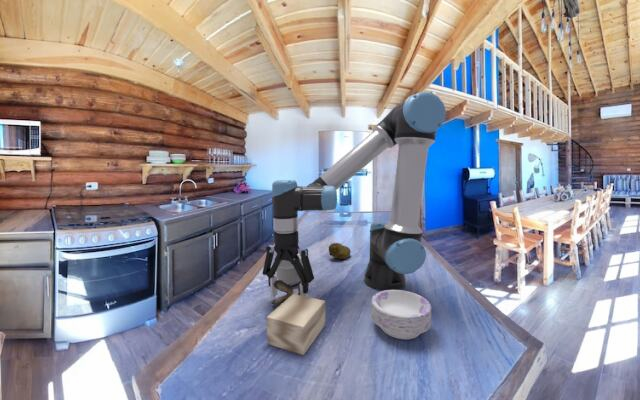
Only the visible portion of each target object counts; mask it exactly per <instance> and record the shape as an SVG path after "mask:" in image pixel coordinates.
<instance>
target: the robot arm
mask: <svg viewBox="0 0 640 400" xmlns="http://www.w3.org/2000/svg"><path fill="white" fill-rule="evenodd" d="M446 113H447V111H446V107H445V104H444V102H443V101H442V100H441V98H440V96H438V95H437V94H435V93H433V92H430V91H421V92H417V93H416V94H415V93H414V94H411V95H410V96H408V97H407V99H405V100H404V101H402V102H400V103H399V104H397V105H395V106H394V107H393V108H392V109H391V110H390V111H389V113H387V114H386V116H385V117H384V118H383V119H382V120H381V121H380V122H378V123H377V124H376V125H375V126H374V127H373V131H372V132H371V133H370V134H368V135H367V136H366V137H365V138H364V139H362V140H361V141H360V142H359V143H358V144H356V146H354V147H353V148H352V149H351V150H349V151H348V152H347V153H346V154H345V155H343V156H342V157H341V158H340V159H338V160H337V161H336V162H335V163H334V164H333V165H332V166H330V167H329V168H328V169H327V170H326V171H325V172H323V173H322V174H321V175H319V177H317V178H316V179H315V180H314V181H313V182H310V183H309V184H307V185H306V186H300V185H299V186H298V183H297V182H298V181H296V179H290V180H289V179H283V180H282V179H280V180H279V179H278V180H274V181H273V182H272V185H271V186H272V187H271V190H272V191H271V201H272V205H271V206H272V220H273V221H272V223H273V224H272V225H273V226H272V228H273V229H272V230H273V231H274V232H273V243H274V244H269V245H268V246H266V247H265V249H266V250H265V252H266V255H265V260H264V265H263V269H262V275H263V276H266V277H267V279H268V282H267V283H268V287H270V298H271V299H275V297H276V296H278V289H276V288H275V287H274V282H275V281H276V280H278V278H277V273H276V270H277V268H278V266H279V264H280V263H281V261H282V260H286V261H290V262H291V264H293V266H294V268H295V270H296V272H297V274H298V276H299V278H300V280H301V281H300V282H299V286H300V295H301V296H305V297H307V294H308V292H309V290H310V289H309V284H310V283H312V282H313V281H314V280H315V276H314V273H313V269H312V265H311V261H310V258H309V250H308V248H305V249H304V248H300V246H299V242H300V241H299V238H300V237H299V230H298V229H299V212H308V211H309V212H311V211H313V212H314V211H315V212H316V211H325V212H327V211H334V210H336V208H337V206H338V205H337V204H338V191H337V190H338V189H340V188H341V187H342V186H344V184H345V183H347V182H348V181H349V180H350V179H352V178H353V177H354V176H355V175H356V174H358V173H359V172H360V171H361V170H363V169H364V168H365V167H366V166H367V165H368V164H370V163H371V162H372V161H373V160H375V158H377V157H378V156H379V155H380V154H382V153H383V152H384V151H386V150H387V149H392V148H394V147H395V146H396V145H398V152H397V158H396V159H397V160H396V166H395V167H396V169H395V175H394V176H395V177H394V185H393V192H392V194H393V195H392V201H391V208H390V219H389V221H379V222H375V221H374V222H372V223H371V224H370V229H369V261H368V264H367V267H366V269H365V272H364V274H363V275H364V277H363V278H364V279H363V280H364V283H365V284H366V285H367V286H369V287H371V288H373V289H376V290H379V291H385V290H402V289H404V287H406V283H407V282H406V275H408V274H413V273H415V272H416V271H417V270H420V269H421V268H422V267H423V265H424V264H425V261H426V258H427V253H426V251H427V250H426V248H425V246H424V244H423V243H422V239H423V238H422V237H423V230H422V228H421V227H420V226H419V221H420V220H419V219H420V214H421V213H420V212H421V206H422V197H423V190H424V184H425V174H426V167H427V160H428V153H429V148H430V147H431V146H432V145H433V144H434V143H436V135H437V130H440V128H441V127H442V125H443V124H444V122H445V120H446V115H447V114H446ZM274 254H276V255H275V258H274ZM298 254H299V255H298ZM294 258H295V260H294ZM299 258H300V259H301V261H302V264H303V266H302V264H301V263H300V259H299ZM273 259H274V260H273Z"/></svg>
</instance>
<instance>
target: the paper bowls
mask: <svg viewBox="0 0 640 400" xmlns="http://www.w3.org/2000/svg"><path fill="white" fill-rule="evenodd" d="M371 319H372V321H373V322H374V324H376V326H377V327H379V328H381V330H382V331H383V332H384V333H385V334H386V335H388V336H389V337H392V338H395V339H398V340H412V339H415V338H417V337H419V336H420V335H421V334H423V333H424V334H425V332H428V330H429V329H430V328H431V326H432V325H431V323H432V305H431V303H430V301H429V300H428V299H426V298H425V297H423V296H422V295H419V294H418V293H415V292H412V291H408V290H404V289H403V290H402V289H399V290H380V291H379V292H377V293H375V294H374V295H373V296H372V298H371Z"/></svg>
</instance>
